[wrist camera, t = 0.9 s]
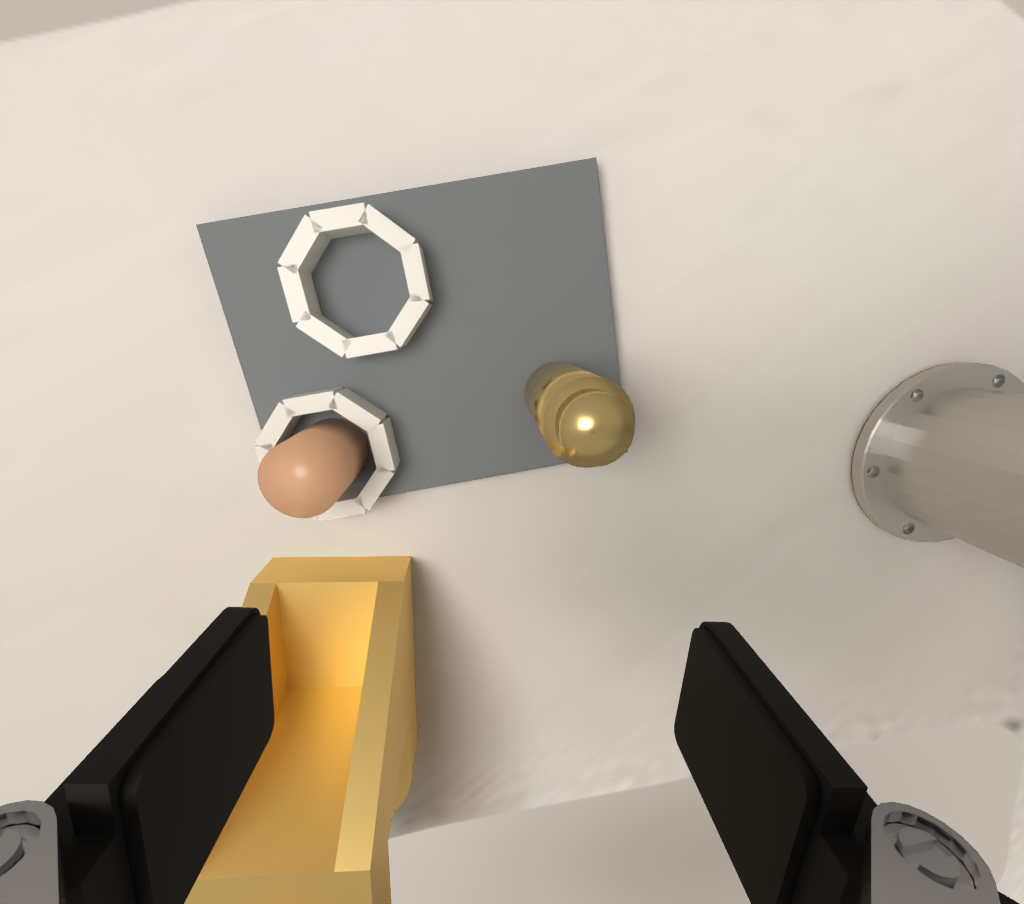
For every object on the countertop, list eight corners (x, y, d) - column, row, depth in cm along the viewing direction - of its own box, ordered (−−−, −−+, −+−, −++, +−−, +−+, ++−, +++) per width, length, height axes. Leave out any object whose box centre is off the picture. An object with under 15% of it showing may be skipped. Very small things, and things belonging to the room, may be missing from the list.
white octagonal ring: (413, 204, 26) (408, 195, 24) (441, 341, 28) (438, 342, 26) (279, 227, 26) (263, 219, 24) (317, 363, 28) (304, 365, 26)
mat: (591, 164, 27) (596, 157, 26) (622, 447, 31) (627, 452, 30) (208, 229, 27) (196, 224, 25) (295, 506, 31) (287, 513, 30)
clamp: (418, 783, 38) (376, 1098, 22) (300, 788, 37) (172, 1116, 22) (411, 555, 33) (349, 760, 17) (273, 557, 32) (81, 771, 17)
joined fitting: (380, 379, 28) (355, 393, 22) (408, 494, 30) (391, 534, 24) (257, 401, 28) (199, 421, 22) (293, 515, 30) (248, 560, 24)
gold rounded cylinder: (584, 355, 29) (641, 372, 18) (592, 419, 30) (650, 468, 20) (519, 367, 28) (541, 390, 18) (529, 431, 30) (555, 485, 19)
